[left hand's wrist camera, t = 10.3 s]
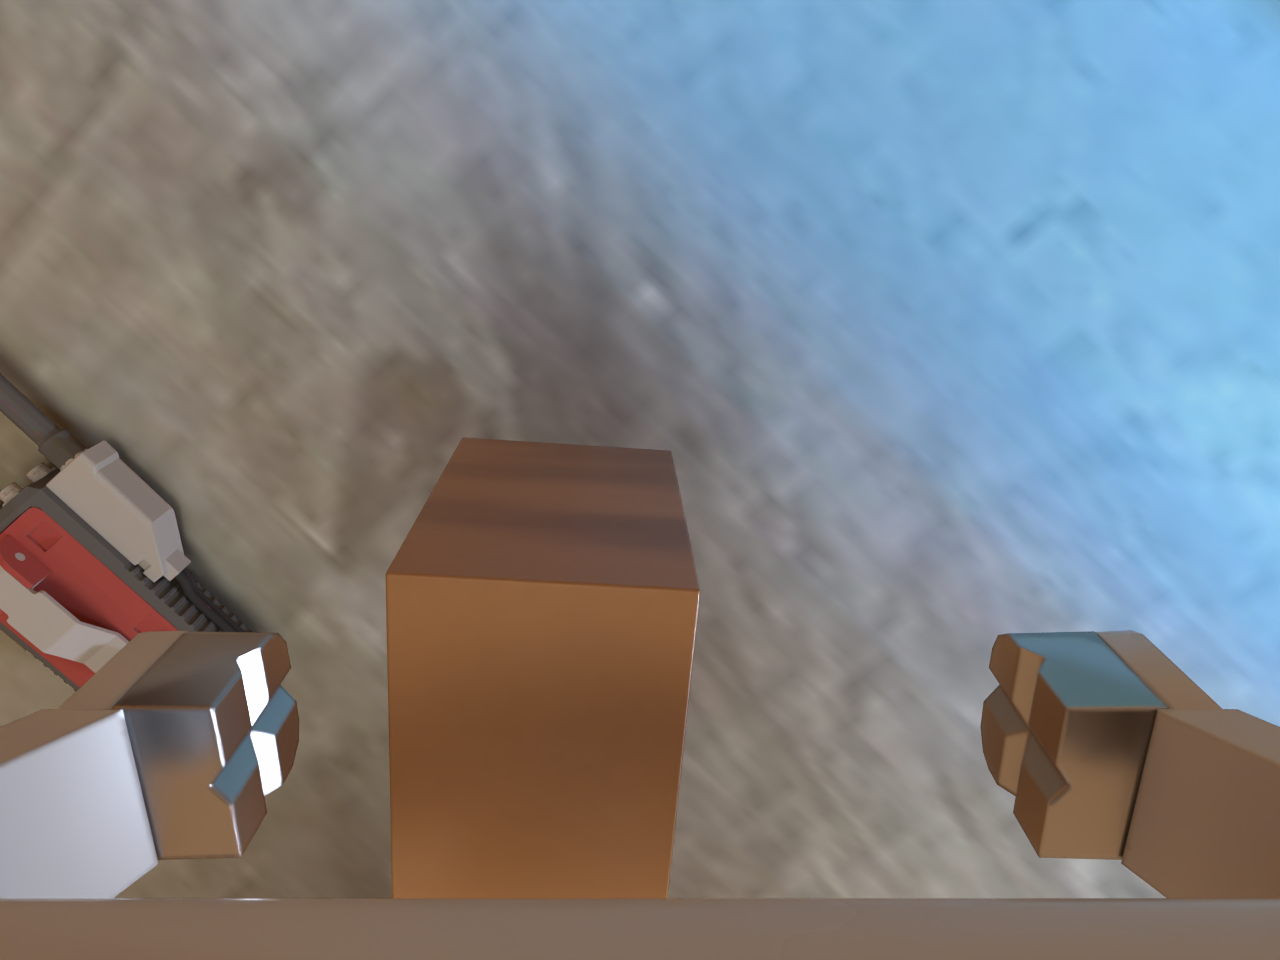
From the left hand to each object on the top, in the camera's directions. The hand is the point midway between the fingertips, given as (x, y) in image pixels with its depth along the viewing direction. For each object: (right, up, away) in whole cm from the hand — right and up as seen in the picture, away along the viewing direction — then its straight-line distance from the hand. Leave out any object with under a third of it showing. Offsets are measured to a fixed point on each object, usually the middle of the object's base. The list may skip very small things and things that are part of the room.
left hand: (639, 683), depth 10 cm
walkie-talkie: (-25, 0, +29) cm, 38 cm away
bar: (-3, -10, +19) cm, 22 cm away
